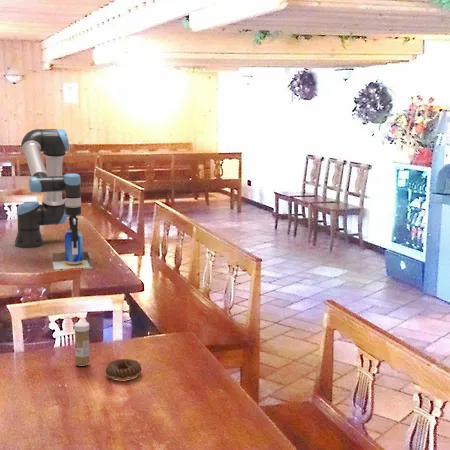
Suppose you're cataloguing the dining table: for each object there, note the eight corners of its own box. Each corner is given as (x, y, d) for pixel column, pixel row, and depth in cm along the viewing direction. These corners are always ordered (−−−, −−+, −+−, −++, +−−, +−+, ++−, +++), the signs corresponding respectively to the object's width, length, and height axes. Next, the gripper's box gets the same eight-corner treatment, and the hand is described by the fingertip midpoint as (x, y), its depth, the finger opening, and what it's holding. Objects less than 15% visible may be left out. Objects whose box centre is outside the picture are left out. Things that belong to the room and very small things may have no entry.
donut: (144, 369, 199) (144, 357, 198) (137, 384, 188) (137, 371, 187) (110, 368, 199) (110, 355, 198) (101, 382, 189) (101, 370, 188)
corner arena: (52, 262, 320) (52, 253, 319) (89, 260, 326) (89, 251, 325) (54, 270, 306) (53, 260, 305) (92, 268, 312) (92, 258, 311)
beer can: (62, 263, 312) (61, 231, 309) (69, 259, 320) (69, 228, 317) (78, 265, 311) (78, 232, 308) (85, 260, 319) (85, 229, 316)
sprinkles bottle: (72, 364, 200) (71, 323, 198) (84, 360, 204) (83, 320, 201) (81, 369, 197) (80, 327, 195) (93, 364, 201) (92, 323, 198)
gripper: (63, 202, 319) (64, 247, 323) (66, 210, 299) (68, 257, 303) (78, 202, 321) (79, 246, 326) (83, 209, 301) (84, 256, 306)
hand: (74, 251), depth 315 cm, fingers open, 8 cm apart
